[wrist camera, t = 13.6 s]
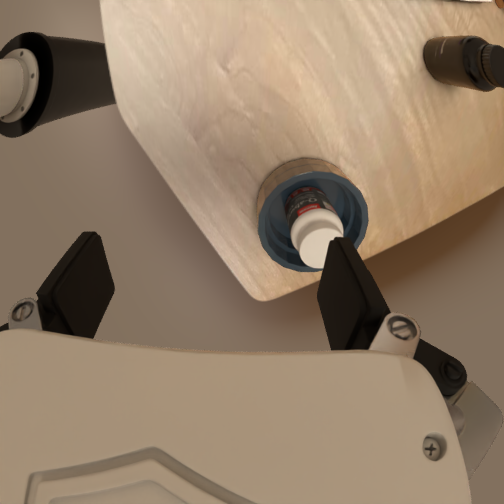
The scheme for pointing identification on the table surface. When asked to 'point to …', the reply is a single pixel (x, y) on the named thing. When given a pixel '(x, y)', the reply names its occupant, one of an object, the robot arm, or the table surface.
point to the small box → (500, 3)
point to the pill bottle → (312, 224)
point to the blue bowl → (284, 184)
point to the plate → (479, 0)
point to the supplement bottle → (466, 62)
